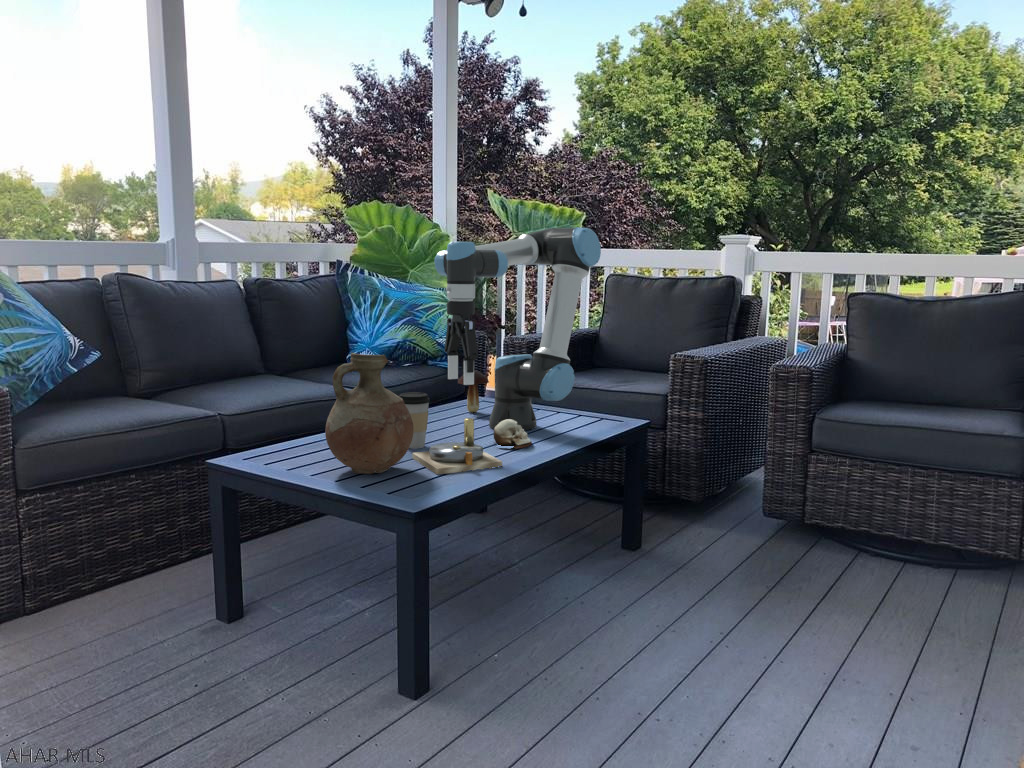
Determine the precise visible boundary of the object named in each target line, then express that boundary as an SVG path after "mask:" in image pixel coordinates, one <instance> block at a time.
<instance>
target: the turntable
mask: <svg viewBox="0 0 1024 768" xmlns="http://www.w3.org/2000/svg"><path fill="white" fill-rule="evenodd" d="M463 433H464V435H463V436H464V437H463V442H459V441H458V442H442V443H438V444H435V445H432V446H430V448H429V451H430V458H431V459H433V460H436V461H441V462H452V463H460V462H466V452H471V453H472V461H476V460H479V459H481V458H482V457H483V452H484V447H483V446H482V445H479V444H476V443H475V418H473V417H466V418H464V419H463Z"/></svg>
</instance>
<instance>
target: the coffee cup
mask: <svg viewBox="0 0 1024 768" xmlns="http://www.w3.org/2000/svg"><path fill="white" fill-rule="evenodd" d="M398 396H399V397H400V398H402V399H403V401H404V403H405V405H406V407H407V408H408V410H409V413H410V415H411V418H412V421H413V426H414V432H413V439H412V442H411V444H410V447H409V449H414V450H415V449H416V450H417V449H422V448H424V447H425V446H426V435H427V430H428V421H429V405H430V403H431V400H430V397H429V396H428V394H427V393H426V392H417V391H416V392H415V391H412V392H410V391H409V392H402V393H400V394H399V395H398Z"/></svg>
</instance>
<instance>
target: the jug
mask: <svg viewBox="0 0 1024 768" xmlns="http://www.w3.org/2000/svg"><path fill="white" fill-rule="evenodd" d="M388 362H389V360H388V359H387V357H386V355H385V354H361V353H355V352H351V353H350V362H348V363H342V364H341V365H339V366H337V368H336V369H335V371H334V373H333V375H332V387H333V390H334V394H335V396H336V400H335V402H334V404H333V406H332V408H331V410H330V411H329V415H328V416H327V419H326V423H325V432H324V433H325V435H324V436H325V439H326V444H327V446H328V448H329V450H330V452H331V453H332V455H333V456H334V457H335V458H336V460H338V461H339V462H340V463H341V464H342V465H344V466H345V467H348V468H350V469H351V473H354V474H364V475H365V474H366V475H372V474H375V473H377V474H381V473H385V471H389V470H390V468H391V467H393V466H395V465H396V464H397V463H398V462H400V461H401V460H402V458H404V457H405V455H406V454H407V452H408V451H409V449H410V448H409V447H410V444H411V442H412V439H413V432H414V426H413V421H412V418H411V415H410V413H409V410H408V408H407V407H406V405H405V403H404V401H403V399H402V398H400V397H399V395H397V394H396V393H394V391H393V392H392V391H391V390H389V388H388V389H387V388H386V387H384V385H383V382H382V378H381V375H382V374H381V373H382V371H383V369H384V367H386V364H387V363H388ZM351 372H357V373H359V378H358V379H359V380H358V383H357V386H355V387H354V388H352V389H350V390H347V389H345V387H344V383H343V378H344V377H345V375H346V374H347V373H348V374H349V373H351Z"/></svg>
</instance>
